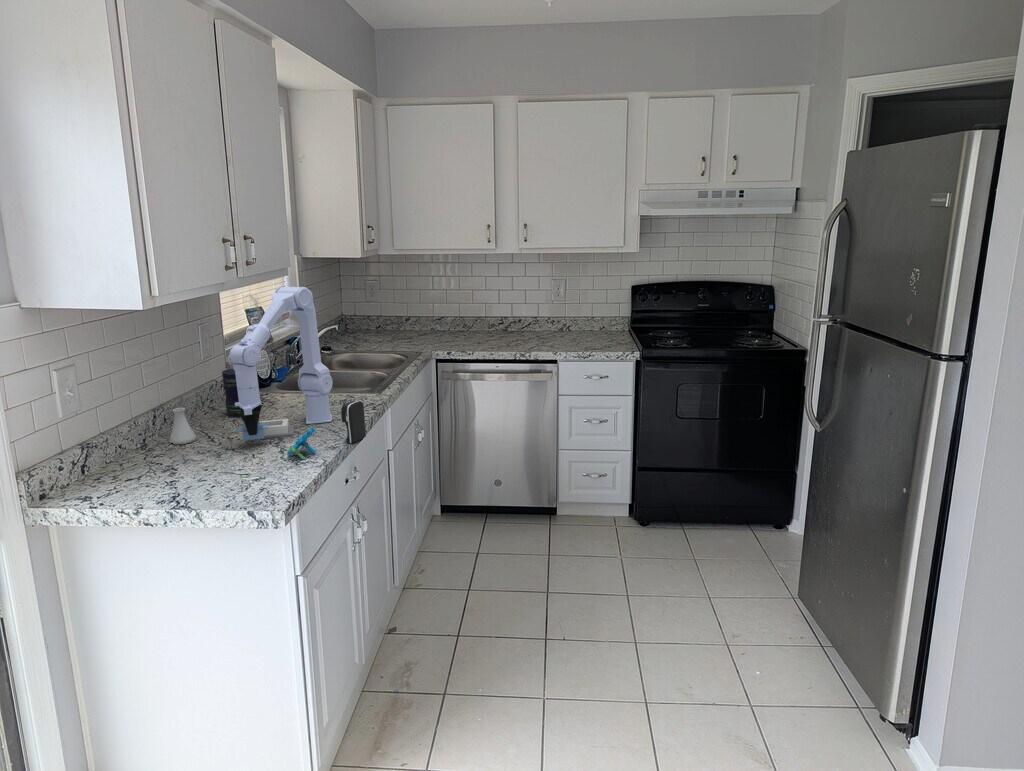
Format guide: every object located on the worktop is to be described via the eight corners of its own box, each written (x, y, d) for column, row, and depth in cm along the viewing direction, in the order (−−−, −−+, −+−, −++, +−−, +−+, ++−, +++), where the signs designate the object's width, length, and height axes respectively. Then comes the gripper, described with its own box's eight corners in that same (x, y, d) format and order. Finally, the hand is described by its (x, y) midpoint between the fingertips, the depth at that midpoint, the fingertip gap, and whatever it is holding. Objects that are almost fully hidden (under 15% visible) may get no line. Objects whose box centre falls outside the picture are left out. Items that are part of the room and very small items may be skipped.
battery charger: (356, 436, 207) (352, 398, 205) (366, 437, 206) (363, 399, 203) (341, 443, 201) (338, 404, 199) (352, 444, 200) (349, 405, 197)
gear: (298, 441, 198) (317, 420, 194) (314, 455, 199) (333, 434, 194) (277, 459, 188) (296, 437, 184) (294, 474, 189) (313, 452, 184)
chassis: (250, 431, 216) (249, 421, 215) (294, 426, 219) (293, 417, 218) (247, 440, 206) (246, 430, 206) (293, 435, 210) (292, 425, 209)
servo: (239, 437, 203) (237, 424, 202) (269, 434, 205) (268, 421, 204) (238, 441, 199) (236, 427, 198) (269, 437, 201) (267, 424, 200)
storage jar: (220, 417, 233) (214, 373, 230) (238, 409, 242) (233, 367, 239) (246, 418, 231) (241, 374, 227) (264, 410, 240) (259, 367, 236)
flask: (202, 438, 210) (197, 406, 208) (184, 446, 203) (180, 412, 201) (181, 437, 212) (177, 405, 210) (164, 444, 205) (159, 411, 203)
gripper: (235, 382, 204) (241, 427, 207) (229, 394, 191) (236, 441, 194) (261, 380, 206) (266, 424, 209) (257, 391, 192) (262, 438, 196)
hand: (253, 432), depth 202 cm, fingers closed on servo, 4 cm apart
